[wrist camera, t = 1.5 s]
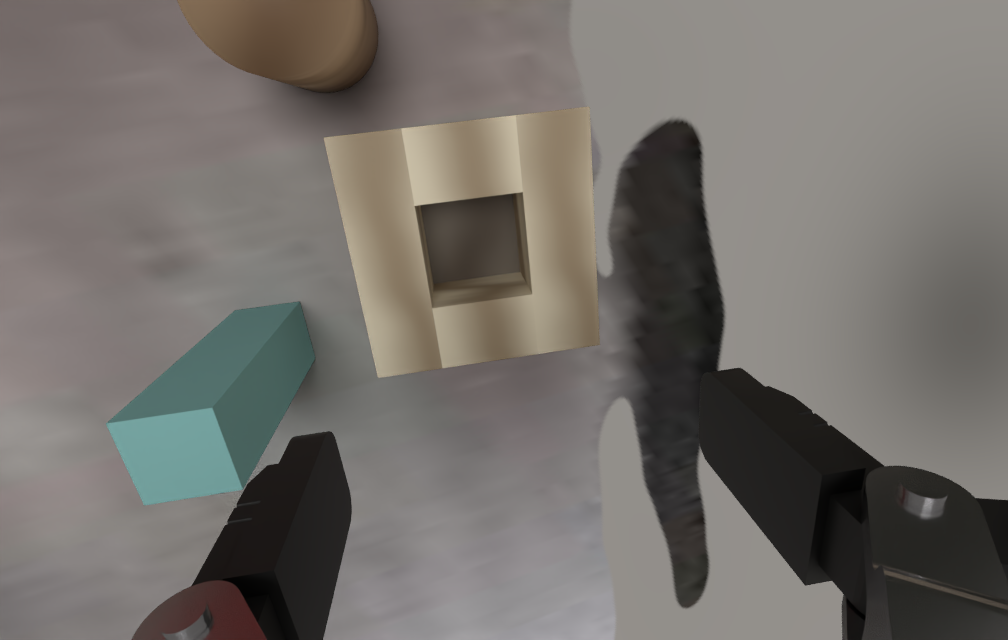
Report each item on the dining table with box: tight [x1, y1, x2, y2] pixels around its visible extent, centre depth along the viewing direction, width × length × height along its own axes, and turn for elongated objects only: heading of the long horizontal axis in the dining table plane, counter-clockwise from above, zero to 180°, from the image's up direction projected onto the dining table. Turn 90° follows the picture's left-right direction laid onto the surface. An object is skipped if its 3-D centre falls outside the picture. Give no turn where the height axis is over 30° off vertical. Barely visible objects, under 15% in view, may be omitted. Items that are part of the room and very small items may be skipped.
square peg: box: [106, 302, 315, 505], centre depth 26 cm, size 4×4×13 cm
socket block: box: [324, 107, 600, 378], centre depth 29 cm, size 13×13×5 cm
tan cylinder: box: [177, 0, 378, 93], centre depth 23 cm, size 6×6×9 cm
